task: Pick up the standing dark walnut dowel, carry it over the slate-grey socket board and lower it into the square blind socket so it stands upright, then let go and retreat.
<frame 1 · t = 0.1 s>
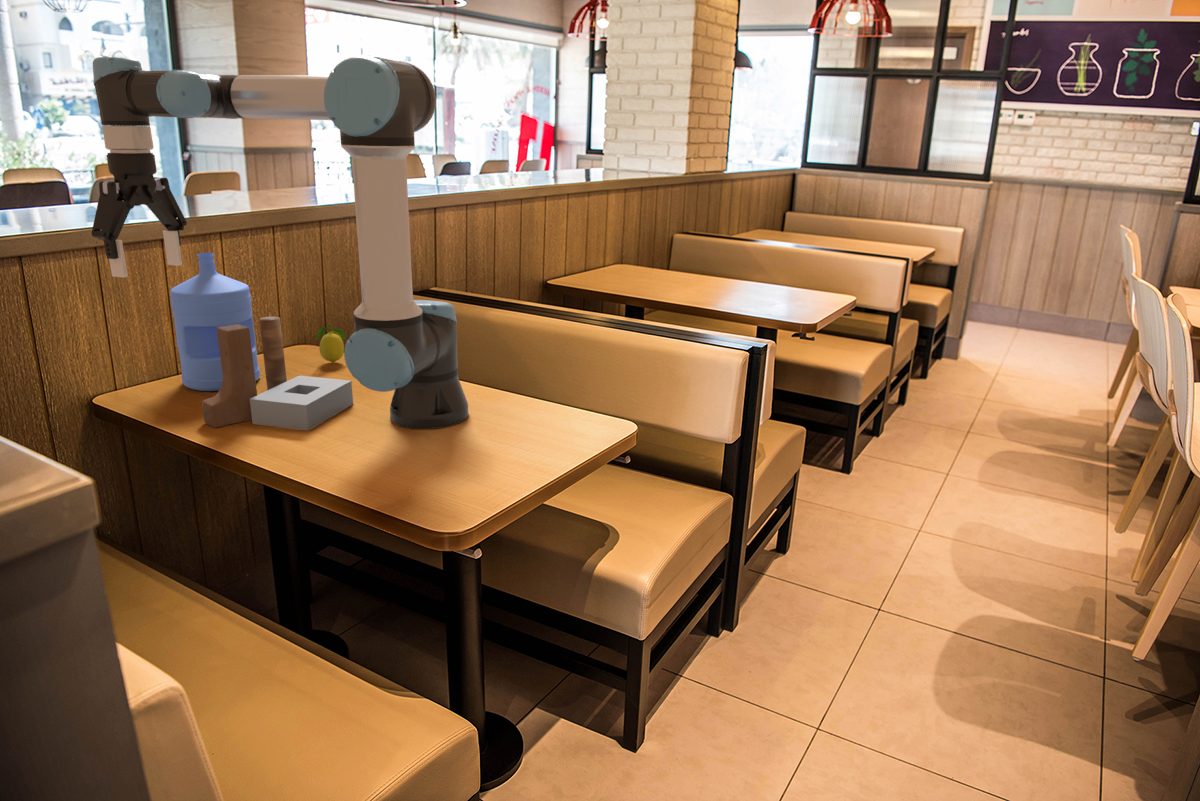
hand: (148, 270, 153), 28 cm above the table, fingers open, 13 cm apart
pin: (277, 392, 175), on the table
socket board: (304, 413, 163), on the table
lemon: (332, 364, 197), on the table
brown boot: (232, 421, 159), on the table
water jug: (222, 382, 182), on the table
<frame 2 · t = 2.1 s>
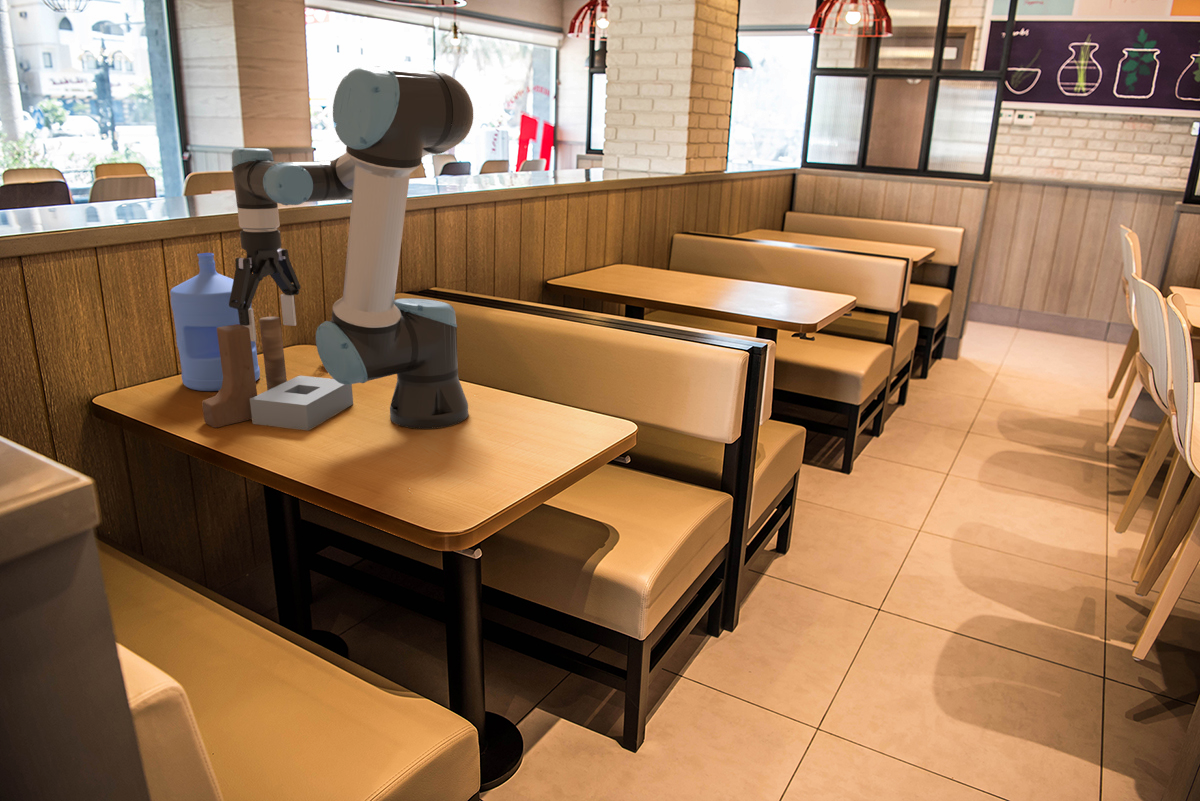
hand: (270, 332, 171), 13 cm above the table, fingers open, 13 cm apart
nothing on the table moved.
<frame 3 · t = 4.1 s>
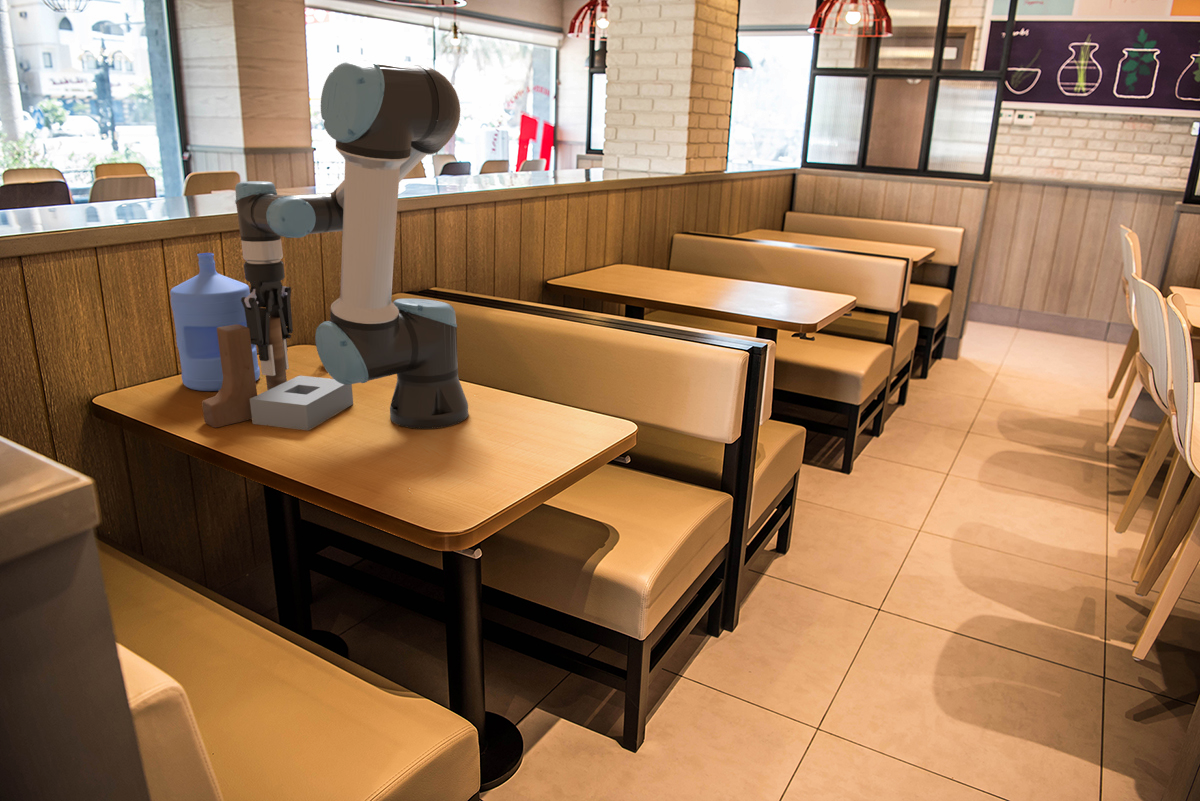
hand: (275, 371, 174), 5 cm above the table, fingers closed on pin, 4 cm apart
pin: (277, 392, 175), on the table, touching gripper
everything else where it was.
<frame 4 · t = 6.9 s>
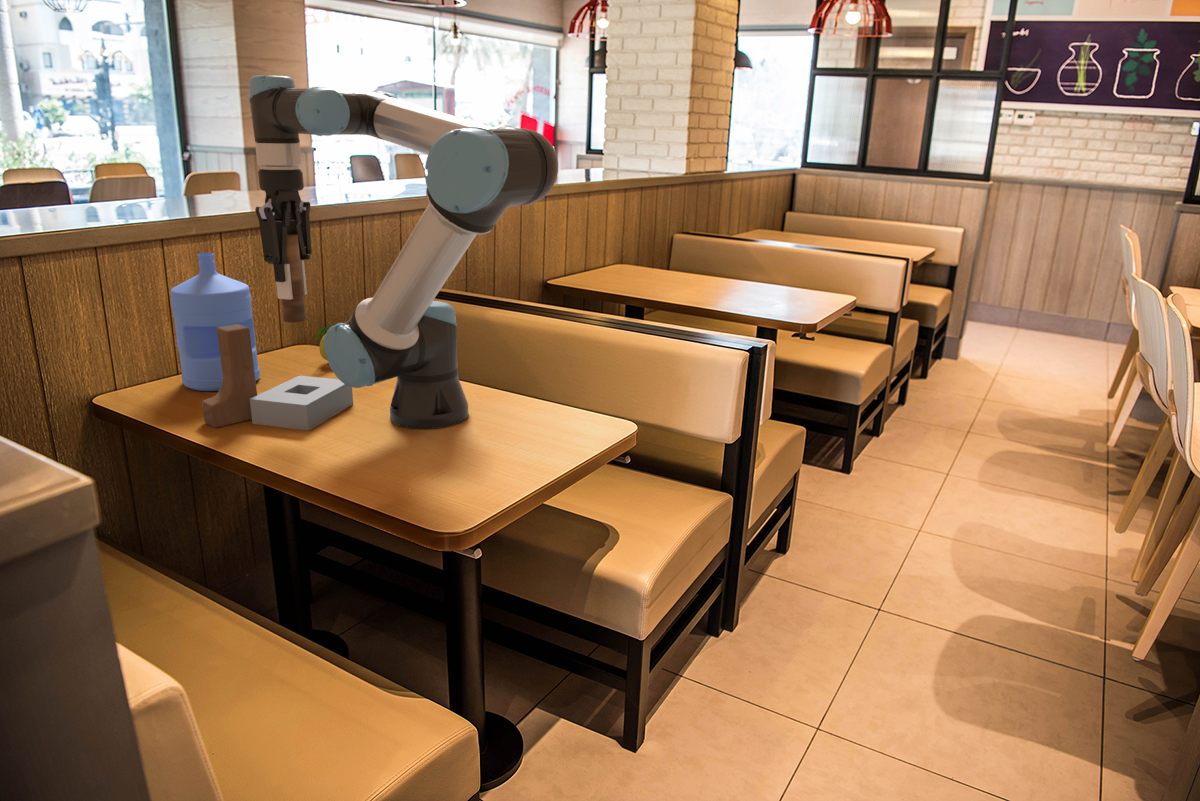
hand: (292, 296, 156), 24 cm above the table, fingers closed on pin, 4 cm apart
pin: (294, 319, 157), point 19 cm above the table, touching gripper
everything else where it was.
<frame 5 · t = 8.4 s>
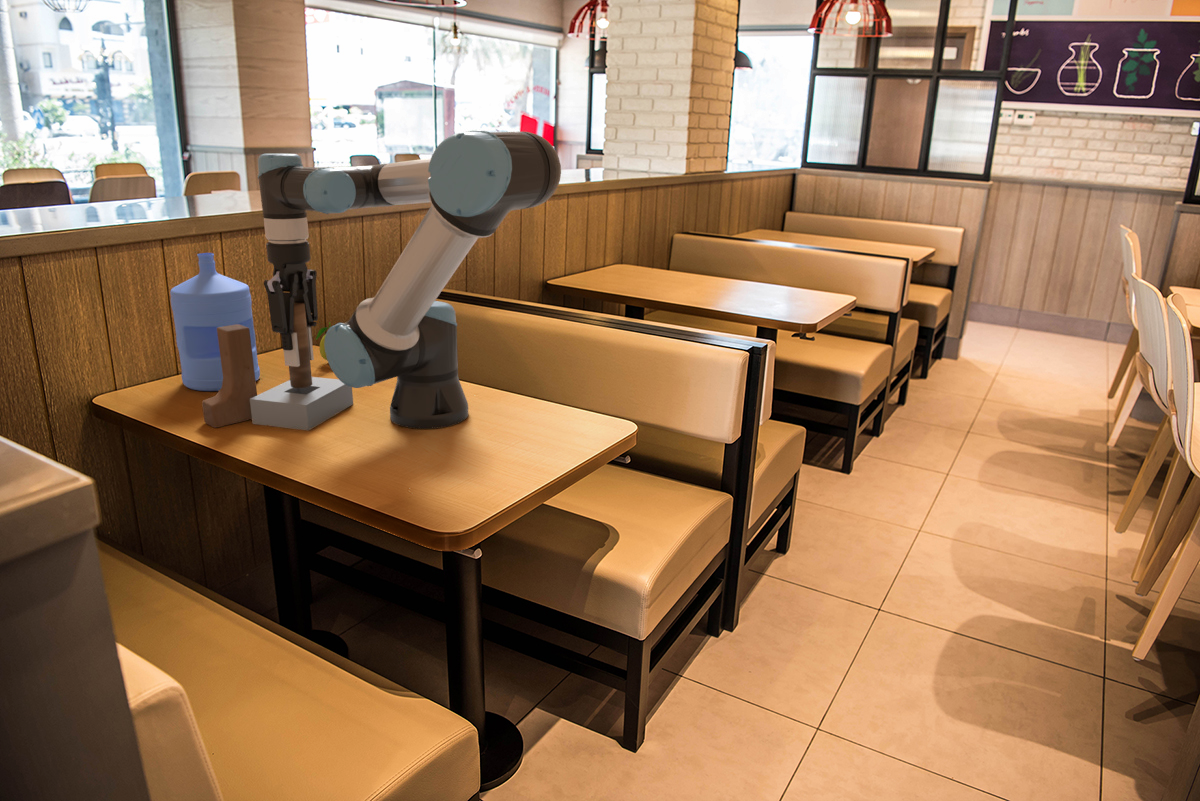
hand: (299, 362, 160), 11 cm above the table, fingers closed on pin, 4 cm apart
pin: (301, 384, 161), point 6 cm above the table, touching gripper
everything else where it was.
when the fingers open (7 cm above the table, at t = 9.7 s): pin stays where it is, resting on socket board.
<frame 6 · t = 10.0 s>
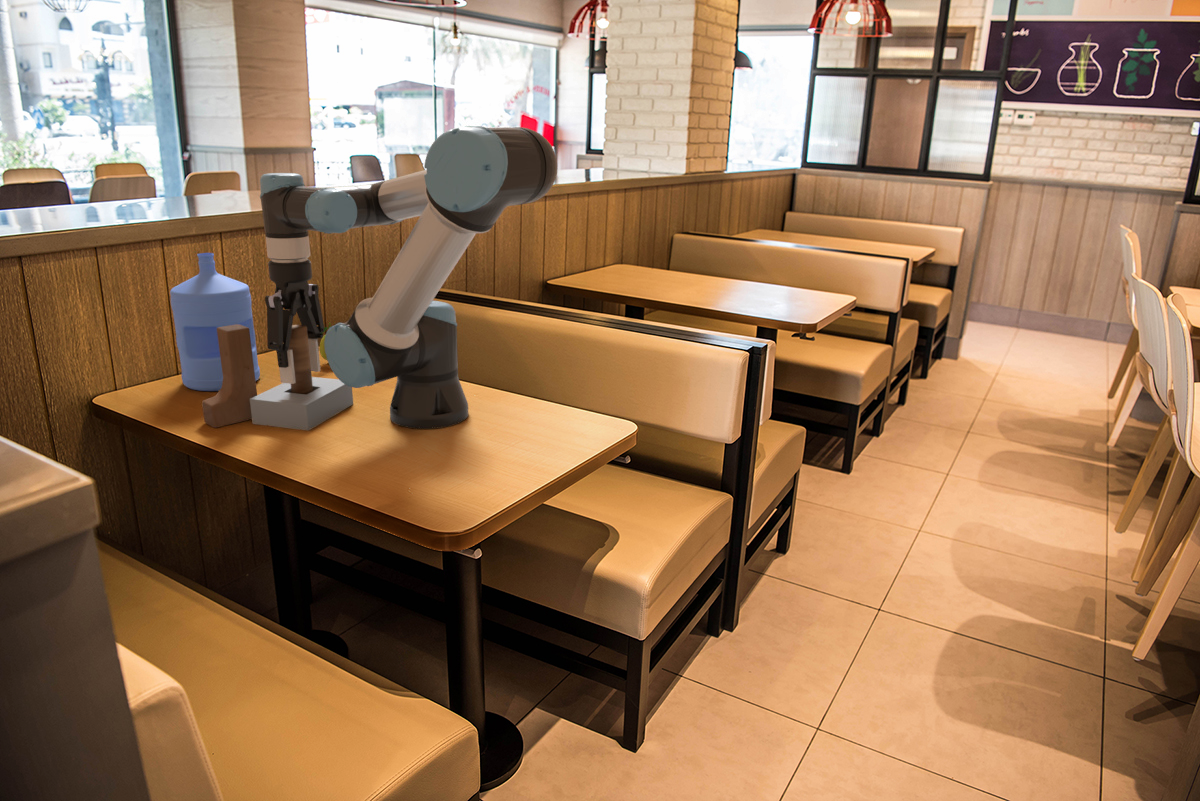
hand: (301, 376, 161), 8 cm above the table, fingers open, 8 cm apart
pin: (303, 406, 163), point 2 cm above the table, touching socket board
everything else where it was.
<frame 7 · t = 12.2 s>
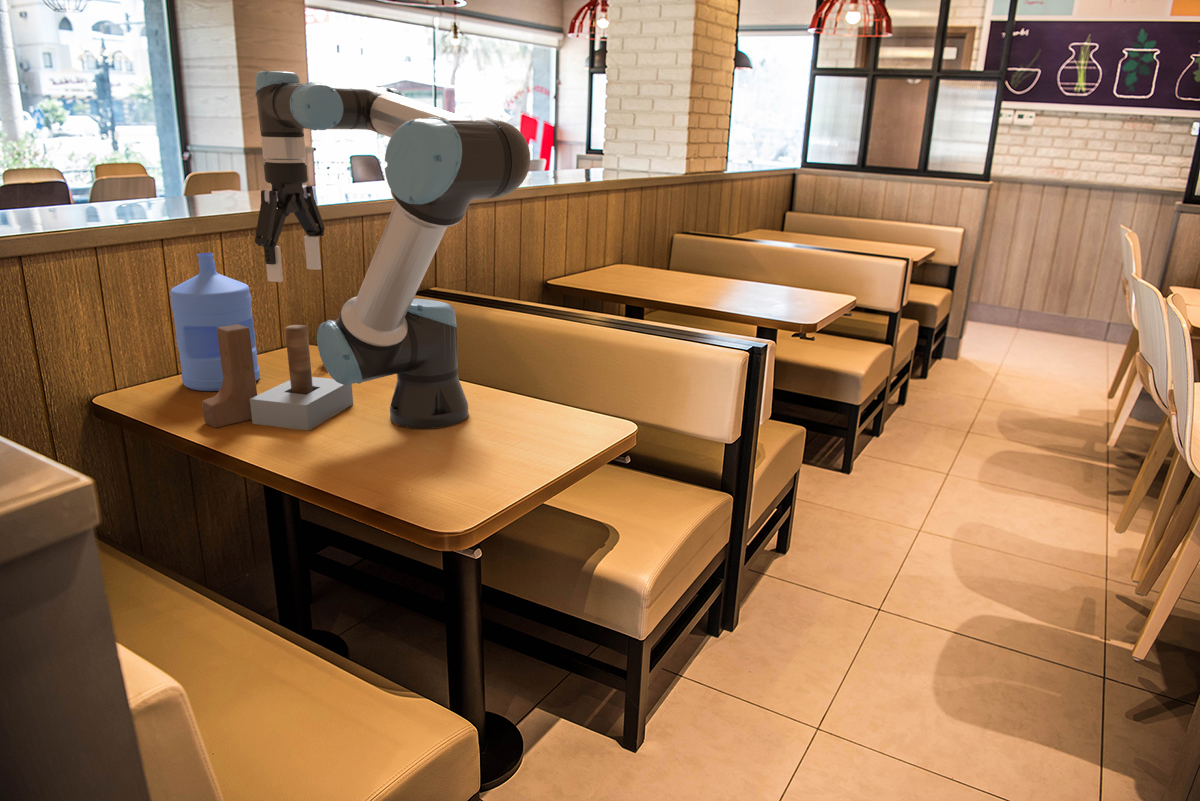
hand: (295, 275, 160), 27 cm above the table, fingers open, 13 cm apart
nothing on the table moved.
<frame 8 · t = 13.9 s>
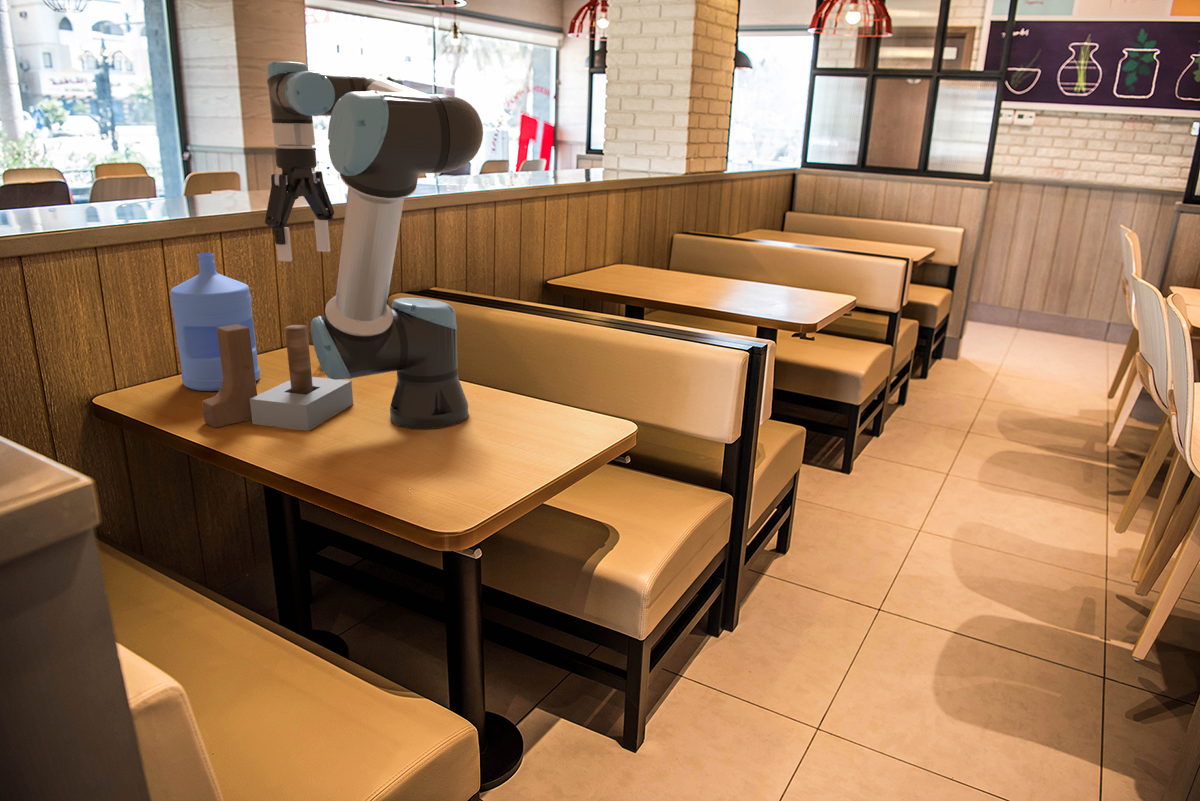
hand: (305, 256, 168), 29 cm above the table, fingers open, 13 cm apart
nothing on the table moved.
at the end: pin 0.0 cm off-centre on the socket board, point 1.5 cm above the socket board's base; pin tilted 0°; the gripper is holding nothing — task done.
